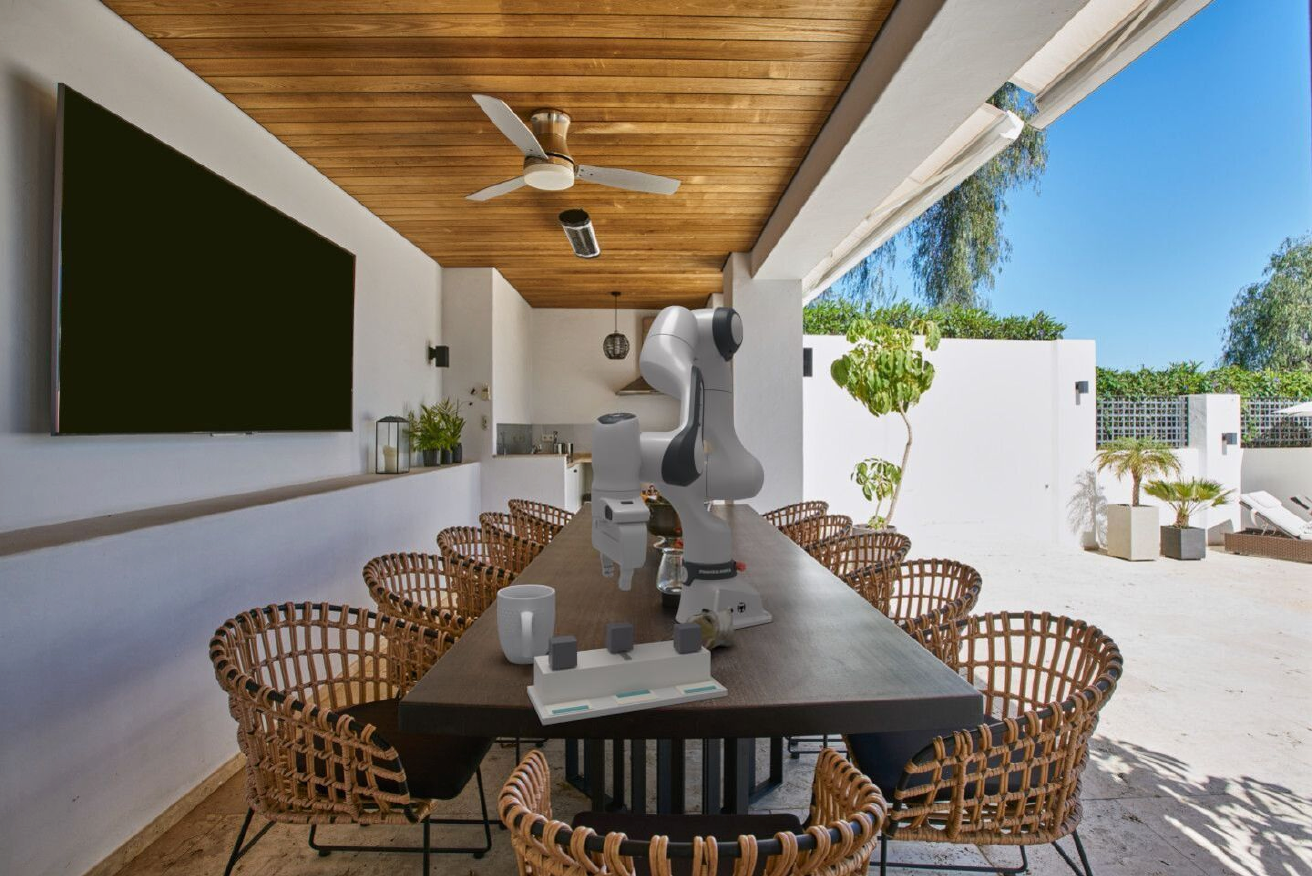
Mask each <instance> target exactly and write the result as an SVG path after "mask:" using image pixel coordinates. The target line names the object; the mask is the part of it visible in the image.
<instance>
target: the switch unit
mask: <svg viewBox="0 0 1312 876" xmlns="http://www.w3.org/2000/svg"><path fill="white" fill-rule="evenodd" d="M673 643H674V640H671V641H662V642H661V641H655V642H646V643H638V644H634V646H633V650H627V651H619V652H610V651H609V650H608V648H607V647H605V648H598V649H596V648H595V649H590V650H582V651H581V650H580V651H577V666H572V667H564V668H556V669H552V668H551V666H550V664H549V663H548V654H546V655H545V656H538V657H534V663H533V685H527V686H526V689H527V690H526V693H527V695H528V698H529V699H530V701H531V703H532V705H533V707H534V710H535V712H536V714H537V715H538V718H539V720H540V723H541V725H542V726H547V725H553V724H558V723H559V724H560V723H566V722H572V721H578V720H586V719H591V718H592V719H593V718H598V717H602V716H610V715H611V716H612V715H616V714H623V713H629V712H634V711H641V710H649V709H654V708H659V707H665V706H673V705H679V704H685V703H691V702H697V701H704V700H709V699H711V700H712V699H717V698H722V697H723V698H724V697H728V691H729V690H728V689H727V688H726V687H725V686H723V685H722V684H721V683H720V682H719V681H717V680H716V679H715V678H714V677H712V676H711V650H710V651H708V650H707V649H706V648H704V647H703V646H702V650H698V651H690V652H682V653H680V652H679V651H678V650H676V649H675V648H674V647H673Z"/></svg>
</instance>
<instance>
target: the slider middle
mask: <svg viewBox="0 0 1312 876" xmlns="http://www.w3.org/2000/svg"><path fill="white" fill-rule="evenodd" d="M634 630H635V628H634V625H633V624H631V623H630V622H629V621H624V622H623V621H622V622H615V623H614V622H613V623H605V648H608V650H609V651H610V652H619V651H627V650H633V646H634V645H635V644H634V642H635V641H634V639H635V638H634V637H635V636H634V635H635V634H634Z"/></svg>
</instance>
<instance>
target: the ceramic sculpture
mask: <svg viewBox="0 0 1312 876" xmlns="http://www.w3.org/2000/svg"><path fill="white" fill-rule="evenodd" d="M690 622H695V623H697V624H698V625H700V626H701V627H702V646H703V647H704V648H706V649H707V650H708V651H710V652H711V650H713V649H714V648H716V647H718V646H720V647H729V646H731V644H732V643H733V642H734V638H735V629H733V621H732V614H731V610H730V609H727V610H725V611H722V612H718V613H717V614H715V612H713V611H712V610H709V609H702V611H701V613H700V614H698V615H693V616H691V617H689V618H688V619H687V621H686V622H685V623H690ZM671 640H674V633H672V634H671V636H669V637H667V638H663V639H661V640H660V642H662V641H671Z"/></svg>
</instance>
